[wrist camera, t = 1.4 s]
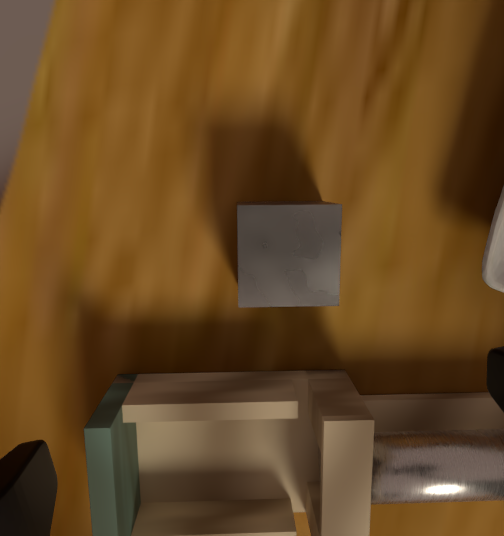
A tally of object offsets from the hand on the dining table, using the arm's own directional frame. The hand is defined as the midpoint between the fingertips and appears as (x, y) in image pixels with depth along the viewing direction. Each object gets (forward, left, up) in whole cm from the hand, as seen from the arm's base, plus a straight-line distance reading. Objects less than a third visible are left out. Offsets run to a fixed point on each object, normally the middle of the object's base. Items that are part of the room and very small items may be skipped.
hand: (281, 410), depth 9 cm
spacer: (-1, -2, -13) cm, 13 cm away
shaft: (-9, +8, -12) cm, 17 cm away
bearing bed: (-3, +8, -13) cm, 16 cm away
